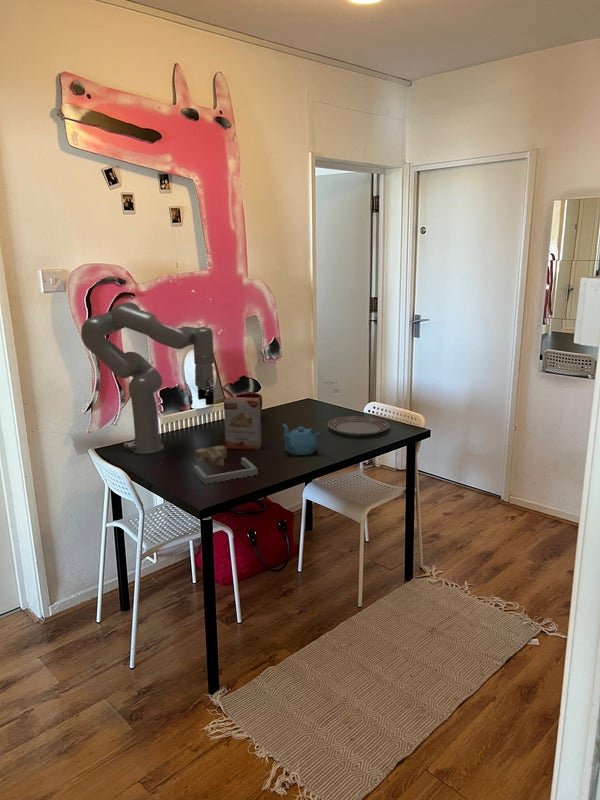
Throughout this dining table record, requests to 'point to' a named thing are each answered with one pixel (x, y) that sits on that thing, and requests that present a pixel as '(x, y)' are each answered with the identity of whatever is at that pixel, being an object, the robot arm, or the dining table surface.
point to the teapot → (300, 441)
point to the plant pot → (252, 395)
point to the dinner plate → (358, 425)
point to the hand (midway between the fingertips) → (206, 401)
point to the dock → (249, 471)
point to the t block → (211, 455)
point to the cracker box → (242, 423)
